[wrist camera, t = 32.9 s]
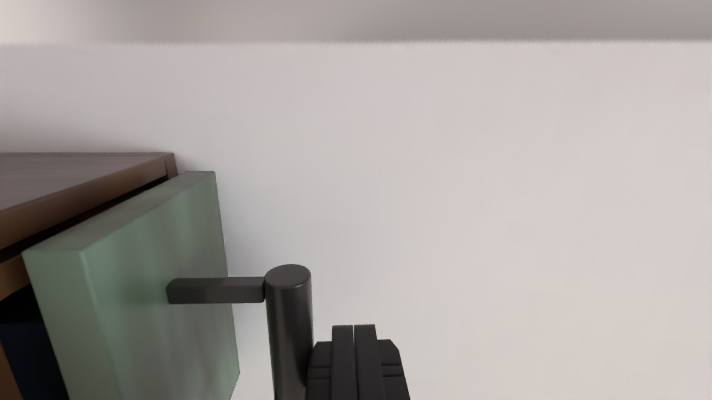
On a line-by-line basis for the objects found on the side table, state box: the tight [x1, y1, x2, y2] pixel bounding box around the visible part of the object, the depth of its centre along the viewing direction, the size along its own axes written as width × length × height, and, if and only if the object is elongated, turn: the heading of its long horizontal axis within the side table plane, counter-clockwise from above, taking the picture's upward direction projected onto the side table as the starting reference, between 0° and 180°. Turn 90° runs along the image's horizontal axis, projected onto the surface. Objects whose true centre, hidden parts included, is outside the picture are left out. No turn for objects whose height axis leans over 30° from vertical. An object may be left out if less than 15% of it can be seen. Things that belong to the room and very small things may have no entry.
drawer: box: [0, 171, 314, 400], centre depth 11 cm, size 17×10×7 cm, turn 90°
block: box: [0, 282, 69, 400], centre depth 12 cm, size 4×4×4 cm
